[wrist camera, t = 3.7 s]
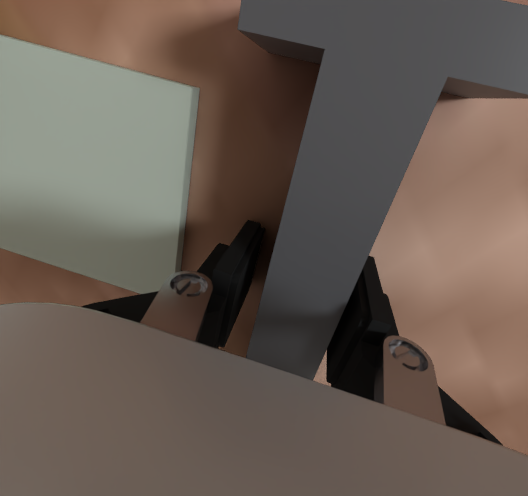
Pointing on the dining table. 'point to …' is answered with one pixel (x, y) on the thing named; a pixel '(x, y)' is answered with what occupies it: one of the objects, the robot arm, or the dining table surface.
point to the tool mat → (94, 165)
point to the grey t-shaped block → (363, 138)
